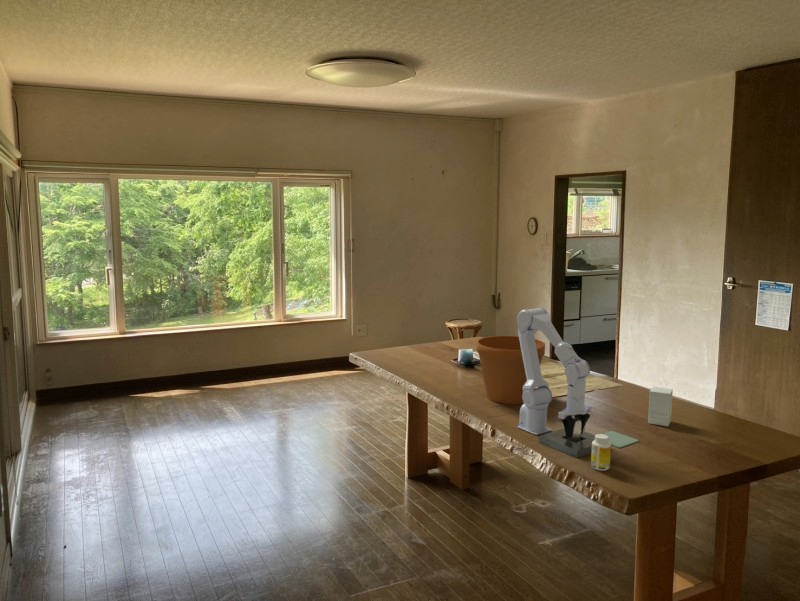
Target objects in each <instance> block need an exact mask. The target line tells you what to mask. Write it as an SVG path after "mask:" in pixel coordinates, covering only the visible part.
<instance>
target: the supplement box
mask: <svg viewBox="0 0 800 601" xmlns="http://www.w3.org/2000/svg"><path fill="white" fill-rule="evenodd" d="M673 391H674V390H673V388H667V387H659V386H652V387H651V389H650V390H649V397H648V399H649V401H648V417H647V423H648V424H651V425H655V426H656V425H657V426H663V427H669V426H670V424H671V421H672V409H673V408H672V406H673V393H674V392H673Z"/></svg>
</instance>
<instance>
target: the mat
mask: <svg viewBox="0 0 800 601" xmlns="http://www.w3.org/2000/svg"><path fill="white" fill-rule="evenodd" d="M603 434H604V435H607V436H608V437H609V442H610V444H611V447H612V446H613V447H615V448H618V449H621V448H624V447H627V446H630V445H633V444H636V443H639V442H640V439H638V438H634V437H631V436H628V435H625V434H622V433H619V432H617V431H614V430H610V431H607V432H605V433H603Z"/></svg>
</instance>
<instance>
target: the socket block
mask: <svg viewBox="0 0 800 601" xmlns="http://www.w3.org/2000/svg"><path fill="white" fill-rule="evenodd" d="M595 435H596V434H593V433H590V432H587V431H585V430H583V433H582V435H581V441H578V442H572V441H570V440H567V436H566V433H565V429H564V428H561V429H557V430H553V431H549V432H546V433H542V434H539V437H538V438H539V440H538V441H539V442H538V443H540V444H542V445H545V446H546V447H549V448H552V449H553V450H554V449H555V450H557V451H559V452H561V453H564V454H566V455H569V456H570V457H574V458H576V459H579V458H581V457H584V456H588V455H590V454H591V453H592V442H593V441H594V440H595ZM608 442H609V441H608Z"/></svg>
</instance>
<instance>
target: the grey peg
mask: <svg viewBox="0 0 800 601" xmlns="http://www.w3.org/2000/svg"><path fill="white" fill-rule="evenodd" d="M572 417H573V419H576V420H577V421H576V422H575V425H574V429H573V436H572V438H569V437H567V440H570V441H572V442H578V441H581V425H582V420H581V419H580V418H576V417H574V416H572Z"/></svg>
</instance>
